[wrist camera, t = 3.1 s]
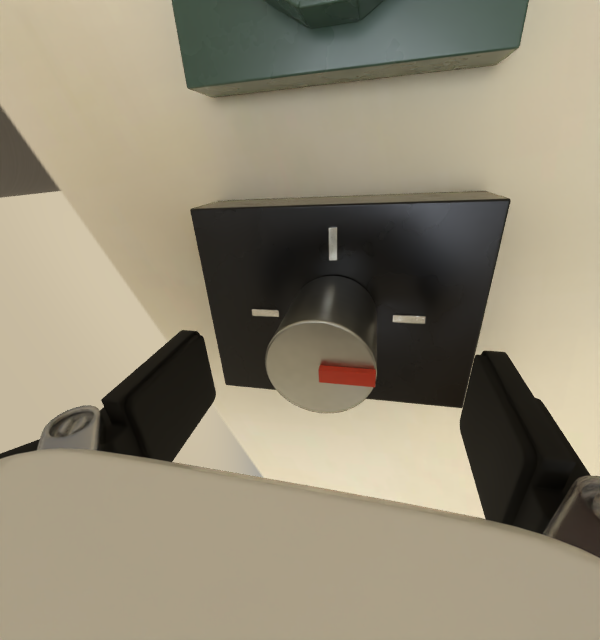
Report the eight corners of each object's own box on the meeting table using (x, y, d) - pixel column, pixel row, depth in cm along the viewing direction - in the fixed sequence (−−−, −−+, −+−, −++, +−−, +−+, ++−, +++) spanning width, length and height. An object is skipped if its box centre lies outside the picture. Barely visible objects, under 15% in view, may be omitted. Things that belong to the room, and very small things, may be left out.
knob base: (243, 357, 21) (224, 387, 19) (218, 200, 17) (187, 209, 14) (450, 373, 18) (463, 411, 16) (486, 190, 14) (513, 199, 11)
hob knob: (295, 348, 16) (267, 413, 12) (290, 274, 15) (255, 321, 10) (374, 353, 15) (373, 425, 11) (379, 276, 14) (380, 328, 10)
